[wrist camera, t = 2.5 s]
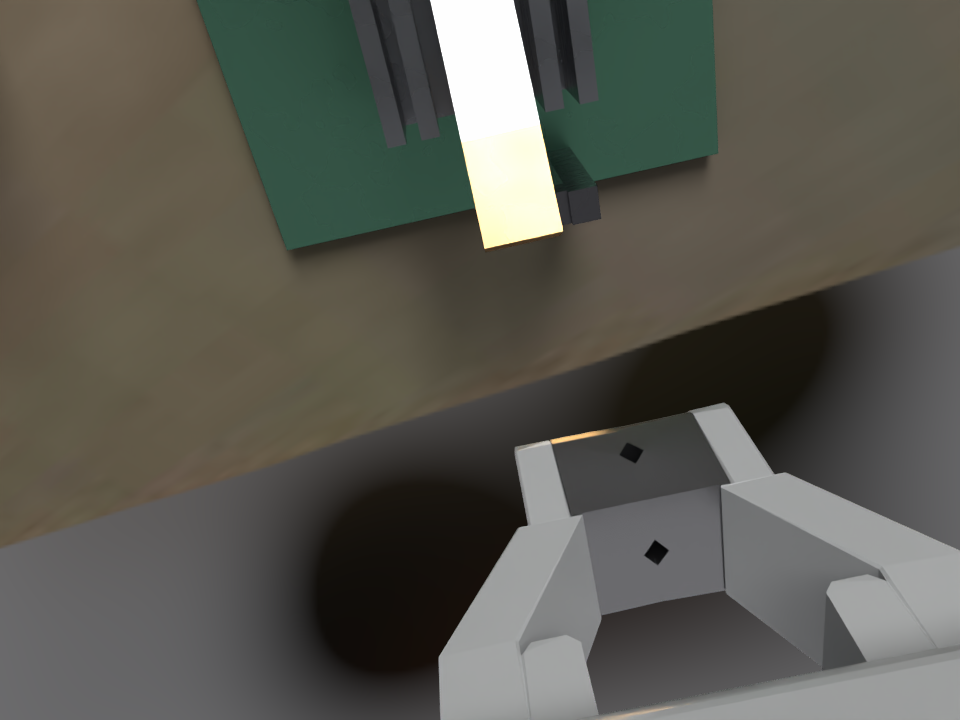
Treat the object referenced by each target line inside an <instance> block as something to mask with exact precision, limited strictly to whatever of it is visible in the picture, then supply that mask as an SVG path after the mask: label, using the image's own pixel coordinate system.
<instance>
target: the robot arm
mask: <svg viewBox="0 0 960 720" xmlns="http://www.w3.org/2000/svg"><path fill="white" fill-rule="evenodd" d="M515 457H516V462H517V468H518V473H519V479H520V484H521V489H522V494H523V500H524V505H525V510H526V515H527V521H528V526H525V527H520V528H518V529H517V531H516V533H515V534H514V536H513V537H512V539H511V541H510V542H509V544H508V546H507V547H506V549H505V550H504V552H503V553H502V555H501V557H500V558H499V560H498V562H497V563H496V565H495V566H494V568H493V570H492V571H491V573H490V575H489V576H488V578H487V580H486V581H485V583H484V584H483V586H482V588H481V589H480V591H479V593H478V594H477V596H476V597H475V599H474V601H473V602H472V604H471V606H470V607H469V609H468V611H467V612H466V614H465V615H464V617H463V619H462V620H461V622H460V624H459V625H458V627H457V629H456V630H455V632H454V633H453V635H452V637H451V638H450V640H449V641H448V643H447V645H446V646H445V648H444V650H443V651H442V653H441V654H440V656H439V681H440V683H439V684H440V719H441V720H960V551H959V550H957V549H955V548H952V547H950V546H948V545H946V544H943V543H941V542H939V541H937V540H935V539H932V538H930V537H928V536H926V535H923V534H921V533H919V532H917V531H914V530H912V529H910V528H908V527H906V526H903V525H901V524H899V523H897V522H895V521H892V520H890V519H888V518H886V517H883V516H881V515H879V514H877V513H874V512H872V511H870V510H868V509H865V508H863V507H861V506H859V505H857V504H854V503H852V502H850V501H848V500H845V499H843V498H841V497H838V496H837V495H834V494H832V493H830V492H827V491H825V490H823V489H821V488H819V487H816V486H814V485H812V484H810V483H808V482H805V481H803V480H801V479H799V478H796V477H794V476H792V475H790V474H788V473H781V474H776V475H774V473H773V471H772V470H771V468H770V467H769V465H768V464H767V462H766V461H765V460H764V458H763V456H762V455H761V453H760V452H759V450H758V449H757V447H756V446H755V444H754V443H753V442H752V440H751V438H750V437H749V435H748V434H747V432H746V431H745V429H744V428H743V426H742V425H741V423H740V422H739V420H738V419H737V417H736V416H735V414H734V413H733V411H732V410H731V408H730V406H728V405H726V404H725V403H721V404H717V405H713V406H708V407H704V408H700V409H696V410H692V411H689V412H688V413H684V414H679V415H674V416H670V417H665V418H661V419H656V420H651V421H647V422H643V423H637V424H633V425H628V426H624V427H616V428H611V429H605V430H600V431H595V432H590V433H584V434H579V435H573V436H569V437H563V438H558V439H552V440H551V443H550V442H549V441H544V442H538V443H533V444H528V445H523V446H519V447H515ZM724 590H726V594H728V595H729V596H730V597H731V598H733V599H734V600H735V601H737V602H738V603H739V604H741V605H742V606H743V607H745V608H746V609H747V610H748V611H750V612H751V613H752V614H754V615H755V616H756V617H758V618H759V619H760V620H762V621H763V622H764V623H765V624H767V625H768V626H769V627H771V628H772V629H773V630H774V631H776V632H777V633H778V634H780V635H781V636H782V637H784V638H785V639H787V640H788V641H789V642H790V643H791V644H793V645H794V646H795V647H797V648H798V649H799V650H801V651H802V652H803V653H805V654H806V655H807V656H808V657H810V658H811V659H812V660H814V661H815V662H816V663H818V664H819V665H820V666H822V671H819V672H813V673H808V674H803V675H798V676H793V677H788V678H783V679H778V680H773V681H768V682H763V683H758V684H752V685H748V686H742V687H737V688H732V689H727V690H722V691H717V692H712V693H707V694H702V695H697V696H692V697H687V698H681V699H677V700H672V701H666V702H661V703H656V704H651V705H647V706H641V707H636V708H631V709H626V710H621V711H616V712H611V713H605V714H601V715H599V714H598V710H597V706H596V702H595V698H594V694H593V689H592V686H591V681H590V677H589V673H588V669H587V665H586V661H587V658H588V655H589V652H590V650H591V647H592V644H593V641H594V638H595V636H596V633H597V630H598V627H599V624H600V622H601V615H604V614H609V613H613V612H617V611H622V610H626V609H630V608H635V607H639V606H644V605H648V604H652V603H657V602H661V601H667V600H672V599H678V598H684V597H690V596H696V595H701V594H707V593H713V592H719V591H724Z"/></svg>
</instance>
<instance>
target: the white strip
mask: <svg viewBox="0 0 960 720" xmlns="http://www.w3.org/2000/svg"><path fill="white" fill-rule="evenodd" d="M430 1H431V5H432V10H433V14H434V19H435V23H436V28H437V33H438V37H439V42H440V46H441V51H442V55H443V60H444V65H445V69H446V74H447V78H448V83H449V88H450V92H451V97H452V101H453V106H454V110H455V115H456V120H457V124H458V129H459V133H460V138H461V142H462V147H463V152H464V156H465V161H466V165H467V170H468V174H469V179H470V184H471V188H472V193H473V197H474V202H475V207H476V211H477V216H478V220H479V225H480V229H481V234H482V239H483V243H484V248H485V252H489V251H493V250H498V249H502V248H507V247H511V246H516V245H520V244H525V243H529V242H534V241H538V240H542V239H547V238H551V237H556V236H560V235H561V234H562V232H563V228H562V224H561V219H560V214H559V210H558V205H557V201H556V196H555V191H554V187H553V182H552V177H551V173H550V168H549V164H548V159H547V154H546V150H545V145H544V141H543V136H542V131H541V127H540V122H539V118H538V113H537V108H536V104H535V99H534V95H533V90H532V85H531V81H530V76H529V72H528V67H527V62H526V58H525V53H524V48H523V44H522V39H521V35H520V30H519V25H518V21H517V16H516V12H515V7H514V2H513V0H430Z"/></svg>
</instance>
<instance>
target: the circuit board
mask: <svg viewBox="0 0 960 720" xmlns="http://www.w3.org/2000/svg"><path fill="white" fill-rule="evenodd" d="M513 2H514V7H515V12H516V16H517V21H518V25H519V30H520V35H521V39H522V44H523V48H524V53H525V58H526V62H527V67H528V72H529V76H530V81H531V85H532V90H533V95H534V99H535V104H536V108H537V113H538V118H539V122H540V127H541V131H542V136H543V141H544V145H545V150H546V154H547V159H548V164H549V168H550V173H551V177H552V182H553V187H554V191H555V196H556V201H557V205H558V210H559V214H560V219H561V224H562V225H565V224H570V223H572V224H573V225H575V224H580V223H584V222H589V221H593V220H598V219H601V213H600V205H599V197H598V190H597V185H596V184H595V182H594V181H598V180H602V179H606V178H611V177H615V176H620V175H624V174H629V173H633V172H637V171H642V170H646V169H651V168H655V167H660V166H664V165H669V164H673V163H677V162H682V161H686V160H691V159H695V158H700V157H704V156H709V155H713V154H717V153H718V135H717V109H716V83H715V58H714V32H713V6H712V0H513ZM197 3H198V6H199V8H200V11H201V14H202V17H203V19H204V22H205V25H206V28H207V30H208V33H209V36H210V39H211V41H212V44H213V47H214V50H215V53H216V55H217V58H218V61H219V64H220V66H221V69H222V72H223V75H224V77H225V80H226V83H227V86H228V88H229V91H230V94H231V97H232V99H233V102H234V105H235V108H236V111H237V113H238V116H239V119H240V122H241V124H242V127H243V130H244V133H245V135H246V138H247V141H248V144H249V146H250V149H251V152H252V155H253V157H254V160H255V163H256V166H257V169H258V171H259V174H260V177H261V180H262V182H263V185H264V188H265V191H266V193H267V196H268V199H269V202H270V204H271V207H272V210H273V213H274V215H275V218H276V221H277V224H278V227H279V229H280V232H281V235H282V238H283V240H284V243H285V246H286V249H287V250H291V249H295V248H300V247H304V246H309V245H313V244H318V243H322V242H326V241H331V240H335V239H340V238H344V237H349V236H353V235H358V234H362V233H366V232H371V231H375V230H380V229H384V228H389V227H393V226H398V225H402V224H406V223H411V222H415V221H420V220H424V219H429V218H433V217H438V216H442V215H446V214H451V213H455V212H460V211H464V210H469V209H473V208H476V207H475V202H474V197H473V193H472V188H471V184H470V179H469V174H468V170H467V165H466V161H465V156H464V152H463V147H462V142H461V138H460V133H459V129H458V124H457V120H456V115H455V110H454V106H453V101H452V97H451V92H450V88H449V83H448V78H447V74H446V69H445V65H444V60H443V55H442V51H441V46H440V42H439V37H438V33H437V28H436V23H435V19H434V14H433V10H432V5H431V1H430V0H197Z"/></svg>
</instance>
